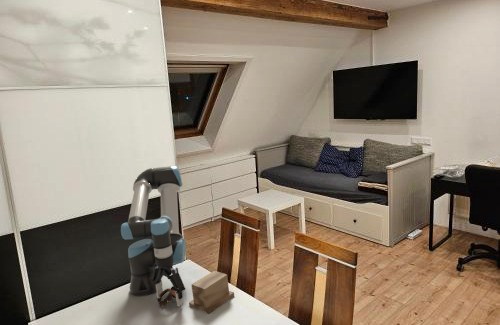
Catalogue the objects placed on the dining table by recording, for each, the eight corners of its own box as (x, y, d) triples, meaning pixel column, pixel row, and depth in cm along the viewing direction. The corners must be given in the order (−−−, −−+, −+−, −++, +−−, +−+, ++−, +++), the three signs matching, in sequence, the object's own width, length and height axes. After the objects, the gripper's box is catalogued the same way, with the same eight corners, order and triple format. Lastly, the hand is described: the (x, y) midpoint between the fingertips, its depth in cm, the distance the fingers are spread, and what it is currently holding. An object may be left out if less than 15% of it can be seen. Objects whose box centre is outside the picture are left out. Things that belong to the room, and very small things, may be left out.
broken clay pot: (181, 311, 148) (169, 298, 145) (164, 319, 150) (152, 307, 148) (187, 290, 159) (176, 278, 156) (171, 298, 161) (160, 286, 159)
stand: (189, 305, 151) (186, 284, 149) (214, 288, 163) (212, 268, 161) (209, 313, 143) (206, 291, 142) (234, 295, 155) (232, 274, 154)
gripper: (139, 253, 155) (145, 297, 158) (175, 264, 140) (182, 313, 143) (153, 247, 161) (159, 289, 164) (189, 257, 145) (195, 304, 149)
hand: (170, 300), depth 153 cm, fingers open, 13 cm apart
